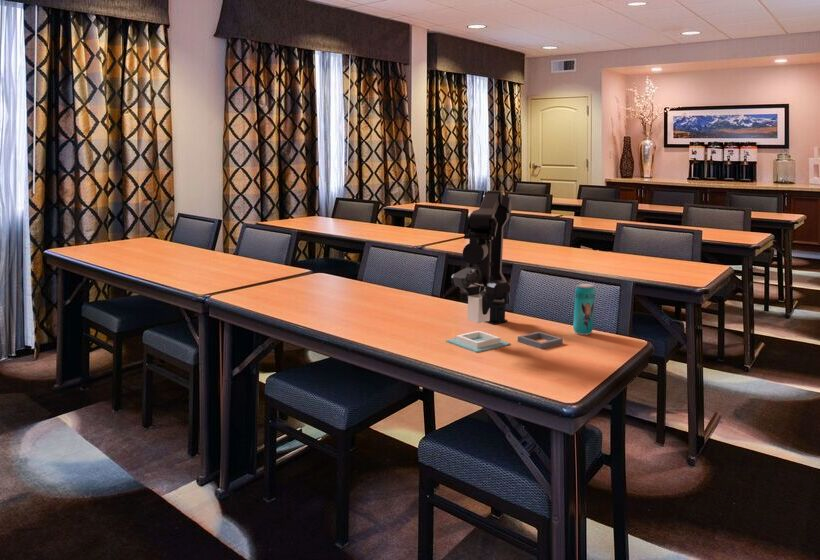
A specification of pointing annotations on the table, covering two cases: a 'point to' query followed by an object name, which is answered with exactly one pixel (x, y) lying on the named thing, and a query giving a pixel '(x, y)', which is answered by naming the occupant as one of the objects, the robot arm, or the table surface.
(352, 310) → the table surface
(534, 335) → the socket
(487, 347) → the socket
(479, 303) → the plug block
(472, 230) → the robot arm
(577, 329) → the beverage can
